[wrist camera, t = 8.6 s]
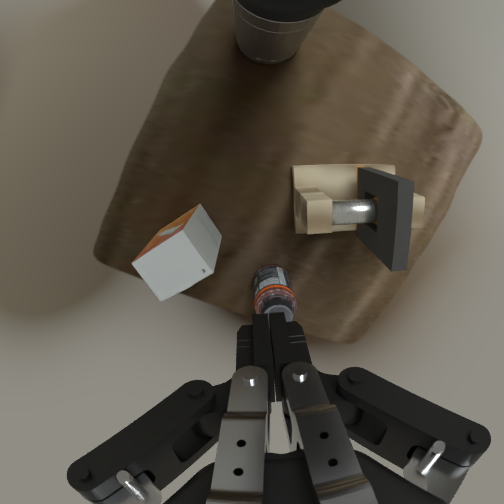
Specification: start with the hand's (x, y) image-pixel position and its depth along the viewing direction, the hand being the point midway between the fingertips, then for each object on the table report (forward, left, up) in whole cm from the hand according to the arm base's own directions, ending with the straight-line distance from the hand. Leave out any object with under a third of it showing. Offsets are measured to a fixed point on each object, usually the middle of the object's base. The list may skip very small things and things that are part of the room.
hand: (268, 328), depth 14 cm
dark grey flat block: (+1, +16, -28) cm, 32 cm away
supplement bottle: (+14, +2, -32) cm, 35 cm away
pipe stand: (+1, +14, -32) cm, 35 cm away
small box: (+5, -10, -32) cm, 34 cm away
